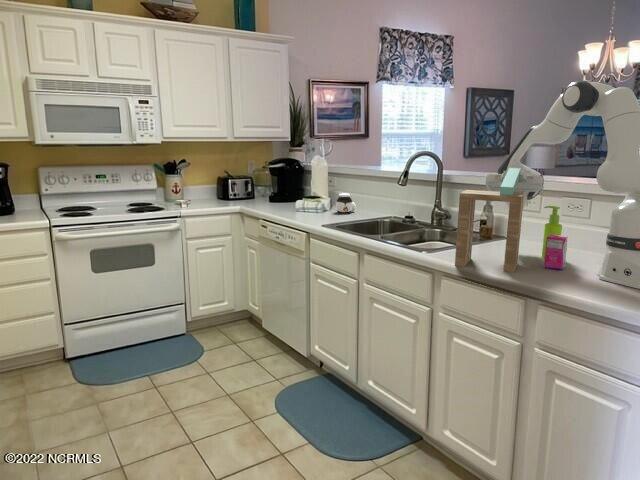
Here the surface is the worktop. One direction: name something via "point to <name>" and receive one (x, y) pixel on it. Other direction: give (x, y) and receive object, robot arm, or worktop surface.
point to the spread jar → (345, 204)
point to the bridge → (467, 224)
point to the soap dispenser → (551, 227)
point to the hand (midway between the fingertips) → (513, 172)
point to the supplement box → (555, 252)
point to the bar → (510, 182)
